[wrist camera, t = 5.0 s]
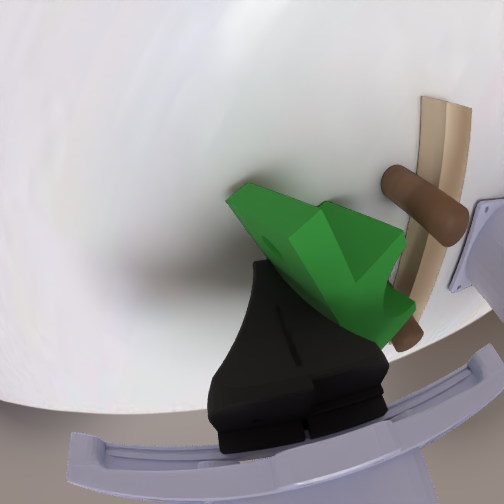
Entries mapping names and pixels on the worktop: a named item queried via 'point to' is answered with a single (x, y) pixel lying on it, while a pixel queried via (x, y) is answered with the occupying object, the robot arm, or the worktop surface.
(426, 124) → the peg rack
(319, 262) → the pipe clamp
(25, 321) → the worktop surface
